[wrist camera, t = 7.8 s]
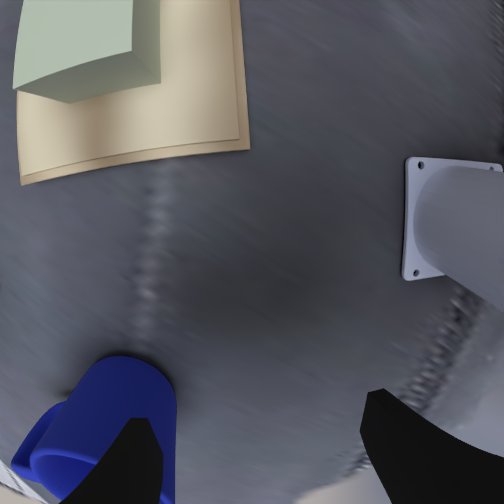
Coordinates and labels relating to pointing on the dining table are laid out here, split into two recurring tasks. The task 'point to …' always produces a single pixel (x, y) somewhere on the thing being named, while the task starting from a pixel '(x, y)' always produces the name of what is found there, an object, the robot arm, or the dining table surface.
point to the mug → (99, 425)
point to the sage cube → (87, 47)
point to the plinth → (149, 103)
